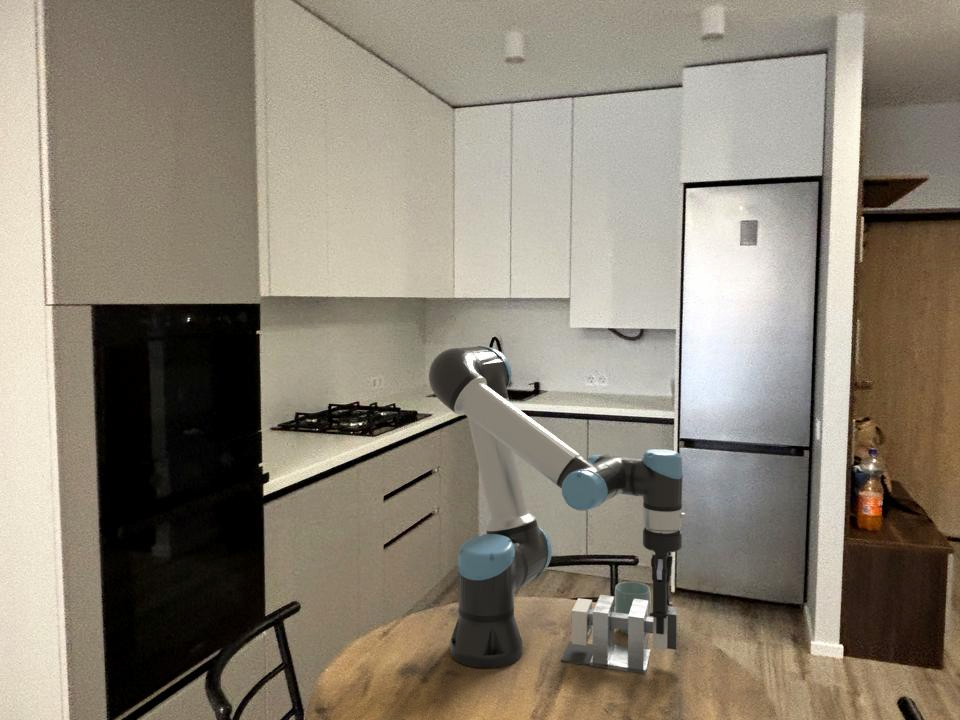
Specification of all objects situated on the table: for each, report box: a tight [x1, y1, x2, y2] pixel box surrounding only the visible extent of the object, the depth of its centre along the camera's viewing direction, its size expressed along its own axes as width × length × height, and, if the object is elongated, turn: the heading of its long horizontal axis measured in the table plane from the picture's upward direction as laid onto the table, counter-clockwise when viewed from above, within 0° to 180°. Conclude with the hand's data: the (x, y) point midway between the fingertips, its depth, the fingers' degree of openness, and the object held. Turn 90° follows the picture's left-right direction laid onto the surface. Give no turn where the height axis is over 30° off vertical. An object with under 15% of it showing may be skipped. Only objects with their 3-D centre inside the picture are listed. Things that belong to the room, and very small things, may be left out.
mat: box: [560, 640, 593, 666], centre depth 152 cm, size 6×9×1 cm, turn 162°
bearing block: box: [589, 594, 651, 675], centre depth 149 cm, size 11×9×11 cm
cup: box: [614, 581, 652, 635], centre depth 163 cm, size 8×8×10 cm
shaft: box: [570, 605, 679, 651], centre depth 149 cm, size 21×4×7 cm, turn 72°
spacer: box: [571, 598, 593, 646], centre depth 152 cm, size 3×7×7 cm, turn 162°
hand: (661, 642), depth 147 cm, fingers closed on shaft, 4 cm apart
